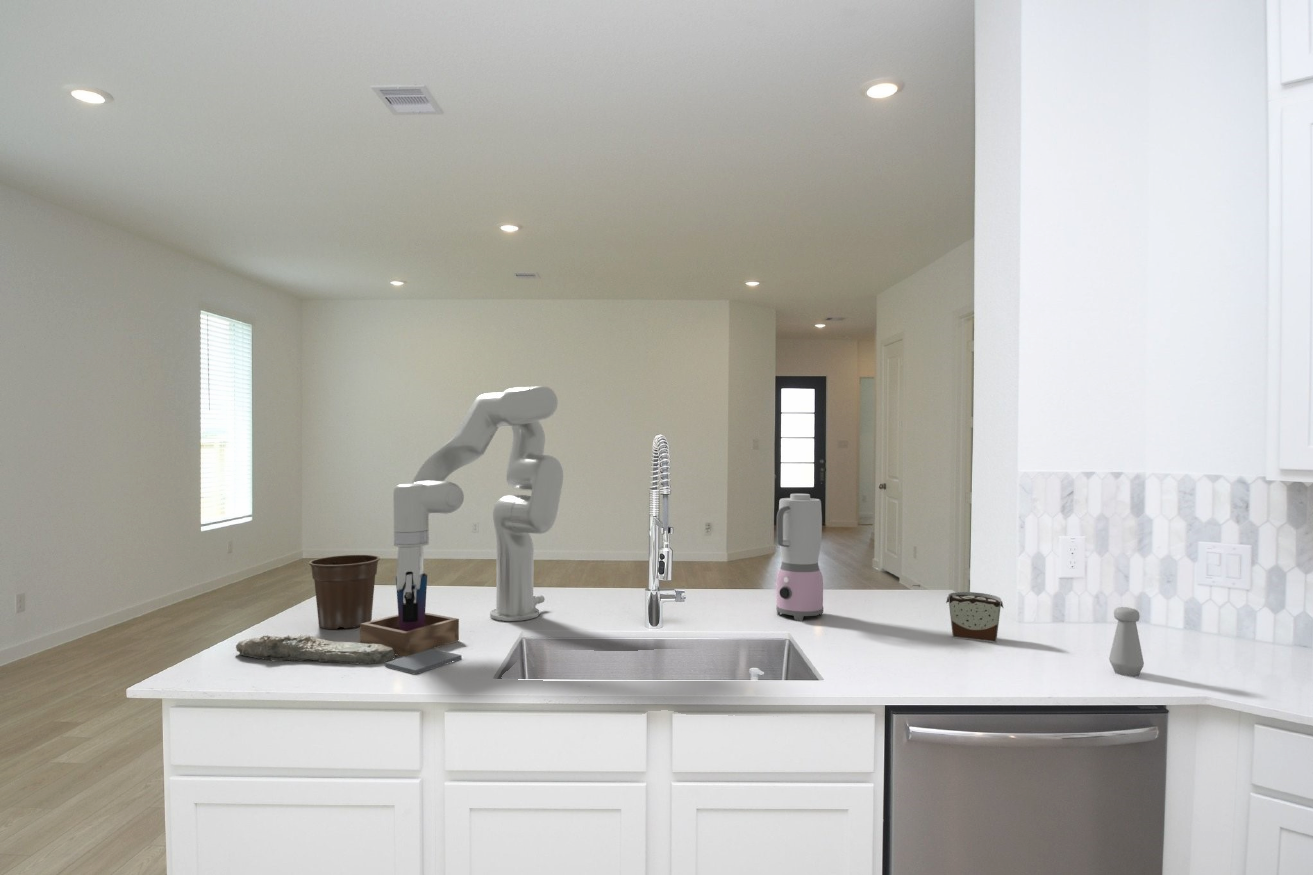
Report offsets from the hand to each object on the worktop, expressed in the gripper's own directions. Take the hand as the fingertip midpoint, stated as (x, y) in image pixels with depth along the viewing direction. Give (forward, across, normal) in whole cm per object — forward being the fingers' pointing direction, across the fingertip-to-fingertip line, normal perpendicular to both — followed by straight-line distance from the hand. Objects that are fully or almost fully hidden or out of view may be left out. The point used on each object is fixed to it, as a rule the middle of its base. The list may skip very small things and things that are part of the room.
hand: (411, 617), depth 165 cm
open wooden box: (+6, 0, 0) cm, 6 cm away
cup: (+6, 0, 0) cm, 6 cm away
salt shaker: (+7, +53, +141) cm, 151 cm away
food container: (+7, +22, +129) cm, 131 cm away
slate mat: (+6, +16, +4) cm, 17 cm away
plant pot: (+6, -22, -18) cm, 29 cm away
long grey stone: (+6, +6, -19) cm, 21 cm away
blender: (+7, -5, +96) cm, 96 cm away
